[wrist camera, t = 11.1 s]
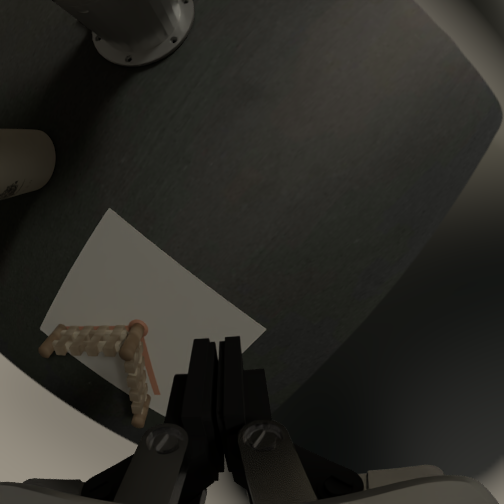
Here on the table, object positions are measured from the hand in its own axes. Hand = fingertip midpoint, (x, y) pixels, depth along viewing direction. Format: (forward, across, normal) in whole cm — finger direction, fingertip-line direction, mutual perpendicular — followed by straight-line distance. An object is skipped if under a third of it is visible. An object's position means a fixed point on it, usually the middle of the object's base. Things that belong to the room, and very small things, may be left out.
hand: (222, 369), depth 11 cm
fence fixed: (+27, +20, +13) cm, 36 cm away
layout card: (+27, +13, +14) cm, 33 cm away
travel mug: (+27, +25, -11) cm, 38 cm away
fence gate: (+26, +15, +21) cm, 37 cm away
